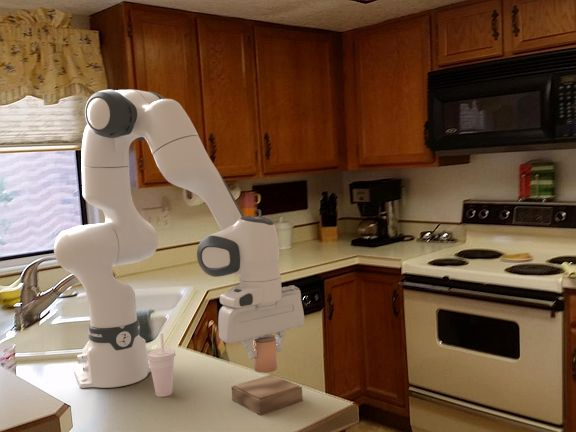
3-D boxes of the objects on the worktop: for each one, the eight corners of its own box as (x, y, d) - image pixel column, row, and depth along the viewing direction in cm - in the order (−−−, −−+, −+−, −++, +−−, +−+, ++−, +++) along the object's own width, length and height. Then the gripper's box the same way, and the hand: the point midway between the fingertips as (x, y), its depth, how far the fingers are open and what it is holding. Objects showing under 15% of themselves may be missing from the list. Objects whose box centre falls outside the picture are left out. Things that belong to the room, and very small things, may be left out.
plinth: (232, 400, 134) (231, 385, 133) (273, 387, 140) (272, 373, 140) (260, 415, 125) (259, 399, 124) (302, 400, 131) (301, 385, 131)
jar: (250, 368, 132) (248, 337, 132) (269, 363, 135) (267, 332, 134) (262, 374, 128) (260, 341, 128) (282, 368, 131) (280, 336, 130)
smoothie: (165, 400, 135) (161, 339, 134) (143, 396, 138) (139, 336, 137) (183, 390, 141) (179, 331, 140) (162, 387, 144) (158, 329, 143)
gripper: (291, 282, 139) (294, 341, 140) (212, 297, 127) (216, 362, 128) (308, 285, 134) (311, 347, 135) (228, 301, 122) (232, 369, 123)
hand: (264, 354), depth 131 cm, fingers closed on jar, 5 cm apart
